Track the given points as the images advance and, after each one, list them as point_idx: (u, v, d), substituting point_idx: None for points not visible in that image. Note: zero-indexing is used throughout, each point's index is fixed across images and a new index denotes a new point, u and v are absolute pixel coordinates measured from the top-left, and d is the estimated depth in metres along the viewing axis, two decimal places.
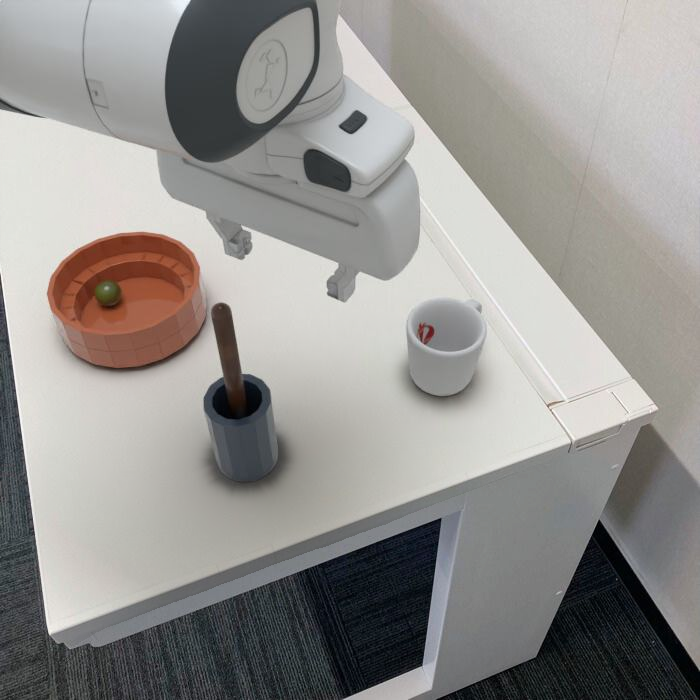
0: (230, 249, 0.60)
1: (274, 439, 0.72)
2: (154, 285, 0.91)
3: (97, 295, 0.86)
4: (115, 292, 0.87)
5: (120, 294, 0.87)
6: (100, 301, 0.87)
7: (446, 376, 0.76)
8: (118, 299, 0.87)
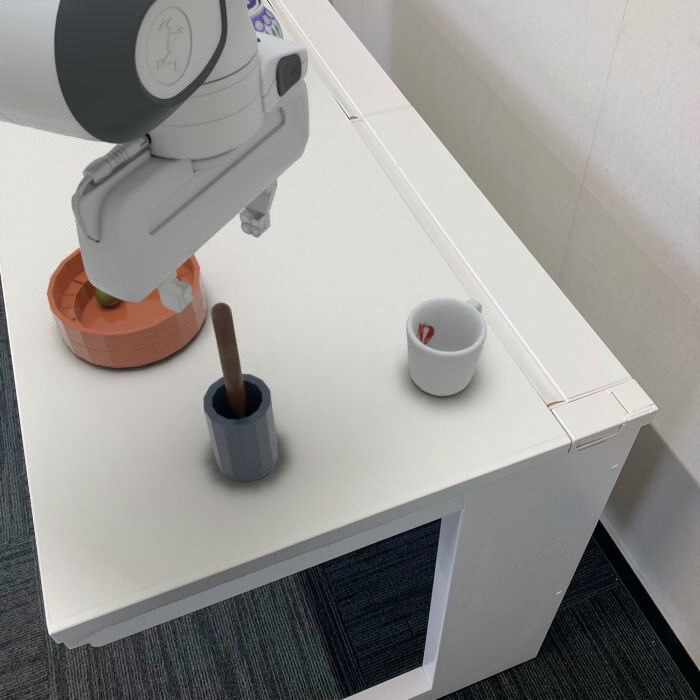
0: (185, 298, 0.53)
1: (274, 439, 0.72)
2: None
3: (97, 295, 0.86)
4: None
5: None
6: (100, 301, 0.87)
7: (446, 376, 0.76)
8: (118, 299, 0.87)
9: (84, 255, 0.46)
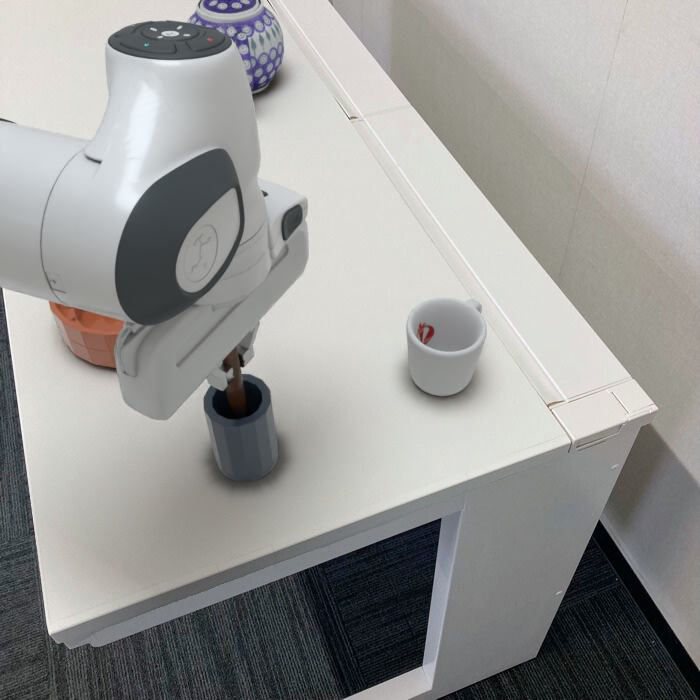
0: (227, 379, 0.64)
1: (274, 439, 0.72)
2: None
3: None
4: None
5: None
6: None
7: (446, 376, 0.76)
8: None
9: (122, 384, 0.55)
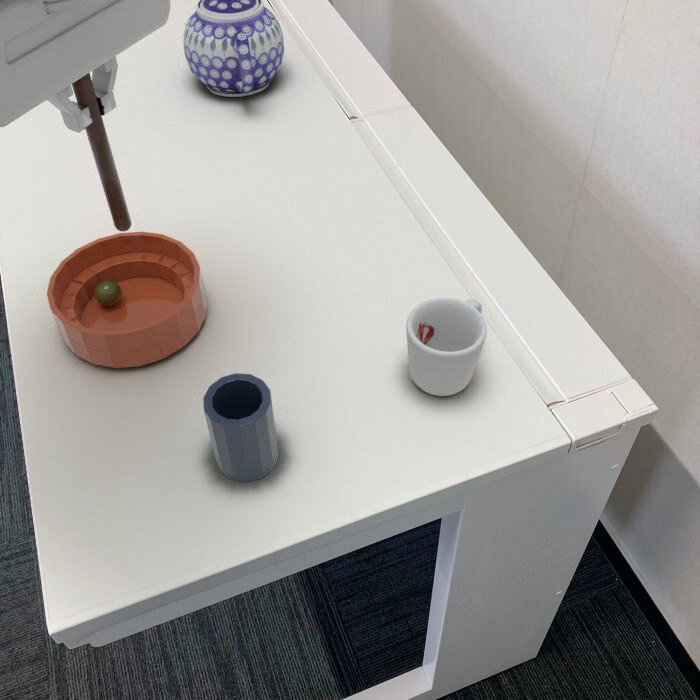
0: (83, 119, 0.63)
1: (274, 439, 0.72)
2: (154, 285, 0.91)
3: (97, 295, 0.86)
4: (115, 292, 0.87)
5: (120, 294, 0.87)
6: (100, 301, 0.87)
7: (446, 376, 0.76)
8: (118, 299, 0.87)
9: None
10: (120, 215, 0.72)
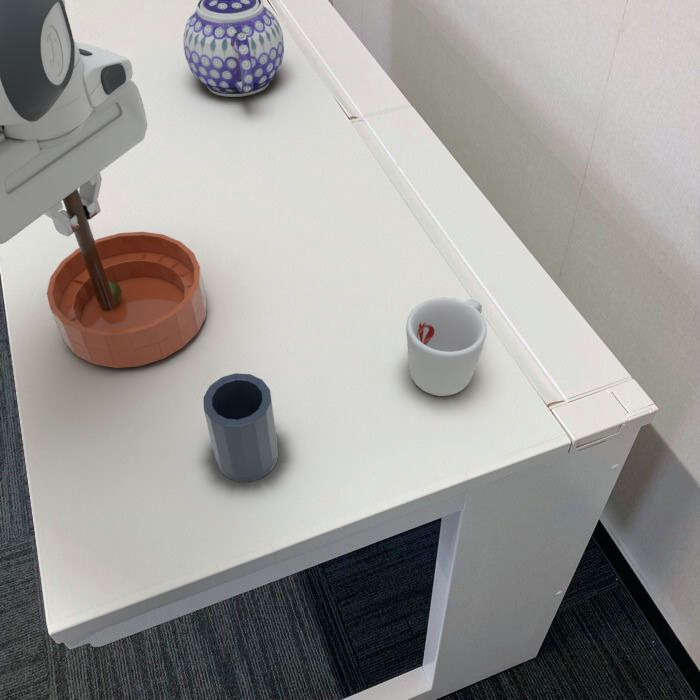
0: (72, 225, 0.74)
1: (274, 439, 0.72)
2: (154, 285, 0.91)
3: None
4: (115, 292, 0.87)
5: (120, 294, 0.87)
6: None
7: (446, 376, 0.76)
8: (118, 299, 0.87)
9: None
10: (105, 298, 0.83)
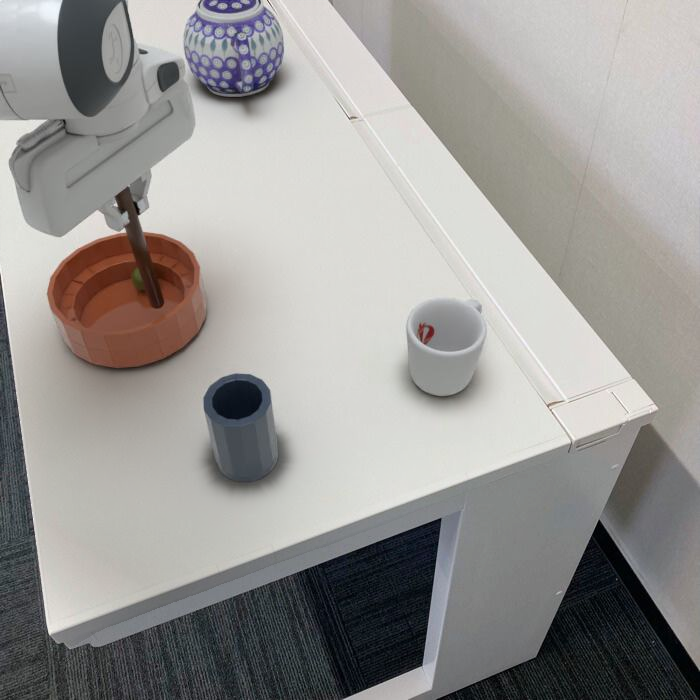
0: (123, 221, 0.75)
1: (274, 439, 0.72)
2: None
3: None
4: None
5: (140, 288, 0.89)
6: (157, 277, 0.89)
7: (446, 376, 0.76)
8: None
9: (21, 202, 0.66)
10: (153, 296, 0.84)
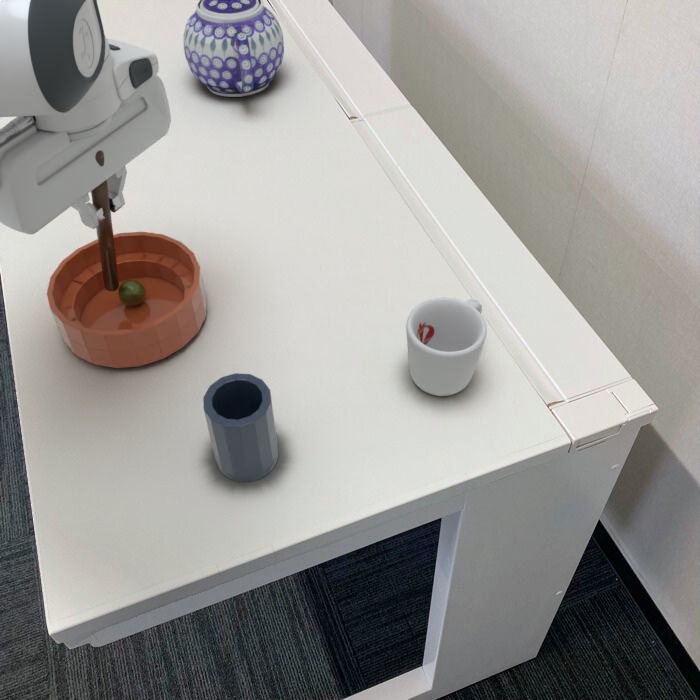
0: (98, 218, 0.75)
1: (274, 439, 0.72)
2: (154, 285, 0.91)
3: (139, 289, 0.87)
4: None
5: None
6: (139, 296, 0.87)
7: (446, 376, 0.76)
8: None
9: None
10: (110, 280, 0.84)
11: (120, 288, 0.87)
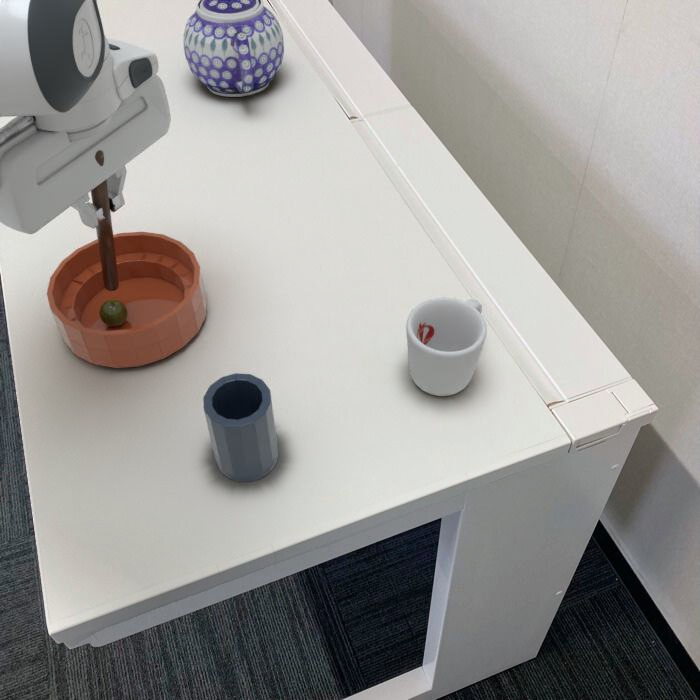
0: (98, 218, 0.75)
1: (274, 439, 0.72)
2: (154, 285, 0.91)
3: (119, 323, 0.85)
4: (114, 308, 0.84)
5: (113, 301, 0.85)
6: (125, 319, 0.85)
7: (446, 376, 0.76)
8: (119, 302, 0.85)
9: None
10: (110, 280, 0.84)
11: None
